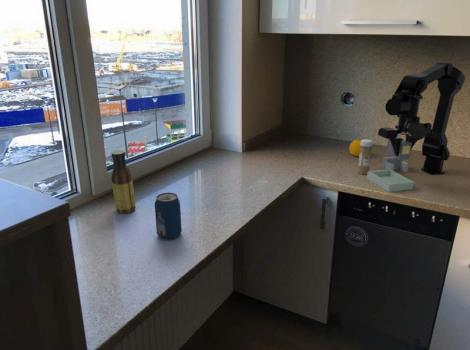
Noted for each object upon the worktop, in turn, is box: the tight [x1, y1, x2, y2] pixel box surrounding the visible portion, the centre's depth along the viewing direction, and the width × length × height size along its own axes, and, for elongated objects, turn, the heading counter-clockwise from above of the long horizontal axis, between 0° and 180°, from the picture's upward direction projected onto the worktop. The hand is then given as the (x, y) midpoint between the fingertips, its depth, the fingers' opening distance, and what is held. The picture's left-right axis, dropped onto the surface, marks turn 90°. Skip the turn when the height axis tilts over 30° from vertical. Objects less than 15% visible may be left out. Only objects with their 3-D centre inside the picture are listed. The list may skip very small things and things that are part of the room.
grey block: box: [385, 139, 412, 160], centre depth 146 cm, size 4×8×6 cm, turn 15°
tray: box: [366, 169, 415, 193], centre depth 149 cm, size 10×14×3 cm
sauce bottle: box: [110, 149, 136, 215], centre depth 125 cm, size 6×6×20 cm
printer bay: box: [381, 155, 409, 173], centre depth 163 cm, size 7×6×5 cm
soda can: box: [154, 192, 182, 241], centre depth 111 cm, size 7×7×12 cm
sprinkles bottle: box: [357, 138, 374, 175], centre depth 159 cm, size 5×5×13 cm
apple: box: [348, 139, 362, 157], centre depth 181 cm, size 8×8×8 cm
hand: (401, 155), depth 145 cm, fingers closed on grey block, 4 cm apart
